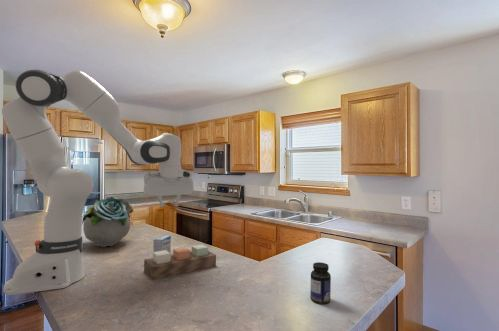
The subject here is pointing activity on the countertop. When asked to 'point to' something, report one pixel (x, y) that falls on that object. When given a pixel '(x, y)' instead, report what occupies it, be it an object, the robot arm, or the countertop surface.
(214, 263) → the key panel
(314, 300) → the pill bottle
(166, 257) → the cream key
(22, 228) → the countertop surface
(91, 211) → the flower arrangement
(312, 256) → the countertop surface
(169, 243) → the medicine box
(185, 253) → the terracotta key
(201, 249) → the sage key
